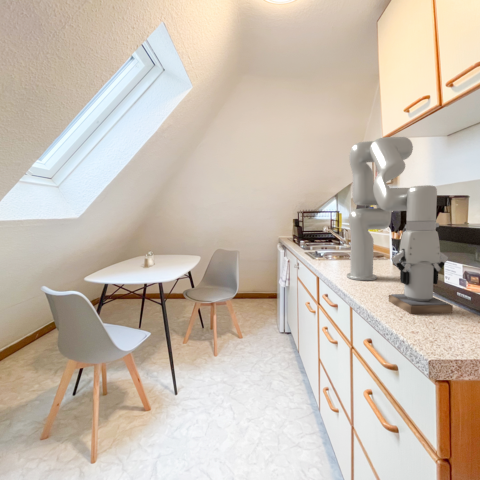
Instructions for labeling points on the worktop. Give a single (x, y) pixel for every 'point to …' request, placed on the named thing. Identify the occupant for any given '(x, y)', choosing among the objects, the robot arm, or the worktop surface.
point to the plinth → (420, 305)
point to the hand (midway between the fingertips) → (418, 283)
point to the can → (420, 282)
